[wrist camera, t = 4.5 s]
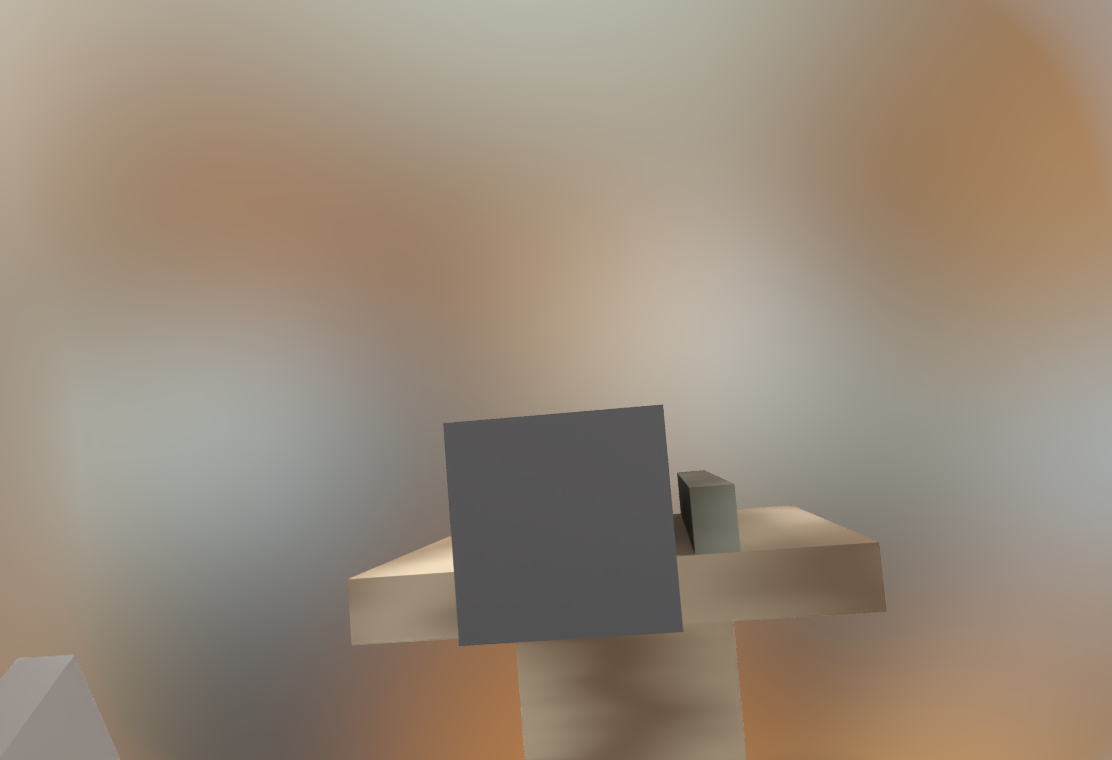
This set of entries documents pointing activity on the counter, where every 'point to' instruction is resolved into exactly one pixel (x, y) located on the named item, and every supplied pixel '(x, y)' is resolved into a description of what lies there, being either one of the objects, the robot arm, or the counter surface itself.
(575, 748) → the stand
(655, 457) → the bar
